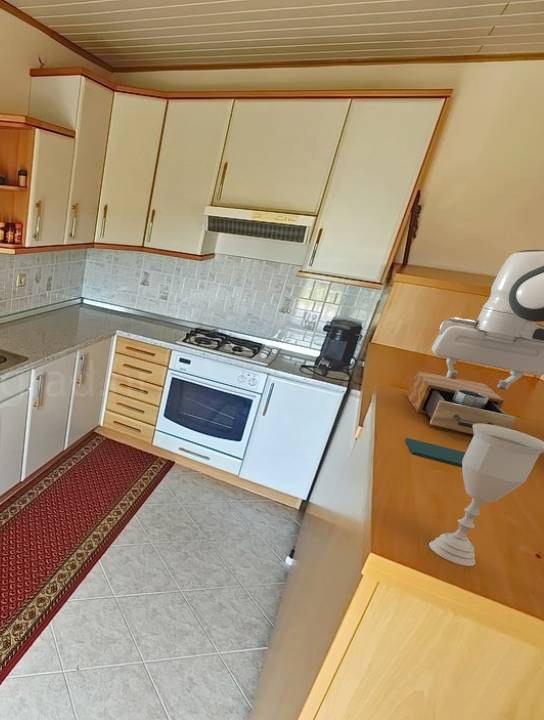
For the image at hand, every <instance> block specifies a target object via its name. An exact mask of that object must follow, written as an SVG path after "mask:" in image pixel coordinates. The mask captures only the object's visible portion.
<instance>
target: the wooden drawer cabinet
mask: <svg viewBox="0 0 544 720" xmlns="http://www.w3.org/2000/svg"><path fill="white" fill-rule="evenodd" d="M431 388H433V389H437V390H442V391H447V392H452V393H455V392H456V390H459V389H462V390H469V391H473V392H477V393H480V394H483V395H485V396H487V397H488V398H489V399H488V400H489V401H493V402H494V403H495V404H497V405H498V406H499V407H500V408H501V409H502V406H503V404H504V401H505V399H504V398H502V397H501V396H500V395H499V394H498V393H496V392H495V391H494V390H493V389H492V388H490V387H489V386H487V384H485V383H481V382H476V381H471V380H465V379H460V378H456V379H451V378H447V377H446V375H440V374H435V373H430V372H426V371H422V370H421V371H420V370H417V371H416V373H415V375H414V378H413V381H412V383H411V386H410V388H409V390H408V394H407V395H406V397H407V398H408V400H409V402H410V403H411V405H412V407H413V408H414V410H415V411H416V413H417V414H422V415H427V416H429V415H428V413H427V412H426V410H425V409H424V404H425V402H426V399H427V397H428V395H429V392H430V390H431Z"/></svg>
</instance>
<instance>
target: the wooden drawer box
mask: <svg viewBox="0 0 544 720" xmlns="http://www.w3.org/2000/svg"><path fill="white" fill-rule="evenodd" d="M454 395H455V393H452V392H447V391H442V390H437V389H433V388H431V390H430V392H429V395H428V397H427V399H426V402H425V404H424V409H425V410H426V412H427V413H428V415H427V416H429V418H430V421H429V424H430V425H432V426H436V427H440V428H445V429H448V430H453V431H457V432H461V433H465V434H470V435H473V436H474V431H473V424H477V423H479V424H489V425H495V426H499V427H504V428H508V429H511V430H512V428H513V426H514V423H515V421H516V419H517V417H516V416H515V415H510V414H508V413H507V412H506V411H505V410H503V409H502V407H501V408H500V407H499V406H498V405H497V404H495V403H494V402H493V401H489V400H488V401H487V403H486V405H485V407H484V409H478V408H474V407H469V406H465V405H460V404H455V403H451V401H452V399H453V397H454Z"/></svg>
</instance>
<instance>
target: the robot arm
mask: <svg viewBox="0 0 544 720" xmlns="http://www.w3.org/2000/svg"><path fill="white" fill-rule="evenodd" d="M542 322H544V249H523V250H518V251H516V252H514V253H512V254H510V256H508V258H506V260H505V261H504V263H503V264H502V266H501V268H500V270H499V272H498V273H497V274H496V277H495V279H494V281H493V284H492V286H491V289H490V296H489V298H488V300H487V301H486V302H485V303H484V304H483V306H482V309H480V313H479V314H478V317H477V319H470V318H461V317H459V316H458V317H457V316H452V317H449V318H446V319H444V320H443V321H442V323H440V327H439V329H438V332H439V334H438V335H437V337H436V339H434V342H433V344H432V346H431V351H432V353H433V354H434V355H435V356H436V357H440V358H446V361H445V362H446V366H447V369H448V371H447V372H446V375H445V376H446V377H447V378H451V379H457V376H458V374H459V371H458V370H455V368H454V365H457V362H458V361H462V362H466V363H472V364H477V365H482V366H487V367H492V368H497V369H502V370H508V371H509V374H510V376H508V377H507V378H506V379H499V381H498V383H497V385H496V388H497V389H498V390H499V389H500V390H505V391H508V390H509V388H510V386H511V384H513V383H514V382H516V381H518V380H520V379H521V378H522V377H523V374H528V375H532V376H533V375H534V376H538V377H541V376H543V375H544V325H543V324H540V323H542Z"/></svg>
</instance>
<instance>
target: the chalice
mask: <svg viewBox="0 0 544 720" xmlns="http://www.w3.org/2000/svg"><path fill="white" fill-rule="evenodd" d="M473 431H474V435H473V436H472V438H471V441H470V443H469V445H468V447H467V449H466V451H465V452H466V453H465V455H464V458H463V460H462V467H461V468H462V470H461V471H462V472H461V473H462V474H461V475H462V479H463V485H464V490H465V493H466V494H467V495H468V496H469V497H471V503H470V504H469V505H468V506H467V507H465V508H464V509H463V510H464V516H463V517H462V518H460V519H457V522H458V529H457V530H456V531H453V532H445V533H444V532H443V533H441V534H440V535H439V536H437V537H435V539H434V540H431V541H429V543H428V546H429V548H430V549H431V551H432V552H434V553H435V554H437V555H438V556H440V557H441V558H443V559H445V560H447V561H449V562H452V563H454V564H456V565H460V566H466V567H473V566H476V559H475V557H476V553H475V547H474V545H473V543H472V542H471V541H470V540H469V538H468V537H467V535H468V532H470V530H471V529H474V528H476V526H475V523H474V520H475V519H476V518H477V517H479V516H481V513H480V511H481V506H482V505H483V504H484V503H495V502H496V501H499V500H500V499H502V498H503V497H505V496H507V495H509V494H510V493H512V492H513V491H515V490H517V489H518V488H519V487H520V486H521V485H523V484H524V483H525V482H526V481H527V480H528V478H529V475H530V474H531V471H532V470H533V468H534V466H535V464H536V463H537V460H538V458H539V456H540V455H541V454H543V453H544V441H543V440H542V439H539V438H537V437H535V436H532V435H530V434H528V433H524V432H521V431H518V430H516V429H515V430H514V429H512V428H511V429H508V428H504V427H499V426H495V425H489V424H479V423H477V424H473Z"/></svg>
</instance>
